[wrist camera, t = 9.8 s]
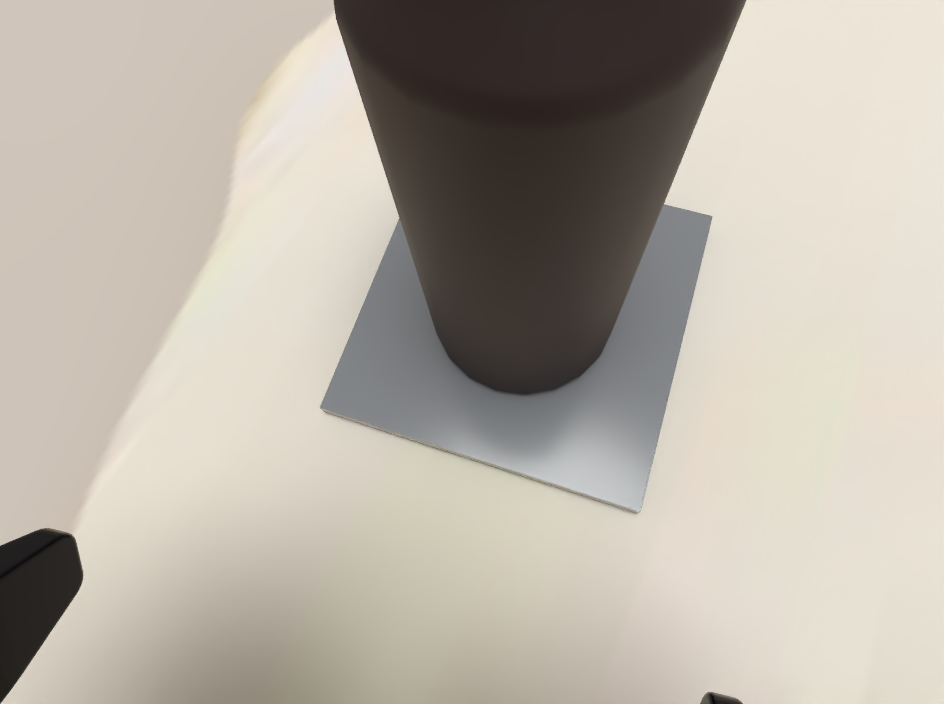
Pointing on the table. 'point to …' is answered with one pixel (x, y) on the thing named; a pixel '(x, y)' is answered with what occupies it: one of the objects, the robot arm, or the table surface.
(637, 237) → the vinegar
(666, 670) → the table surface
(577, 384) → the slate coaster
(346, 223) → the table surface
